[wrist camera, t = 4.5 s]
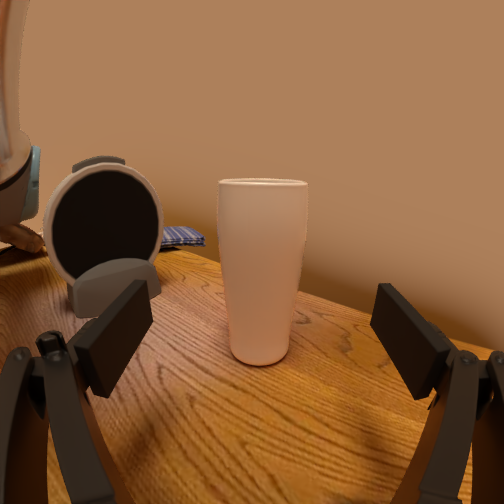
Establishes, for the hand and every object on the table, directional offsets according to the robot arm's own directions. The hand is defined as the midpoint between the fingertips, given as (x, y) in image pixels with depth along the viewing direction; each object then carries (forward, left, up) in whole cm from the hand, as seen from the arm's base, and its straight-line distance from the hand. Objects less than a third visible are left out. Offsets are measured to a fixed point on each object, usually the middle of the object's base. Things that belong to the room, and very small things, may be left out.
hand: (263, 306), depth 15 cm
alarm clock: (-23, -12, -9) cm, 27 cm away
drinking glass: (-7, +3, -9) cm, 12 cm away
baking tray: (-50, -47, -5) cm, 69 cm away
